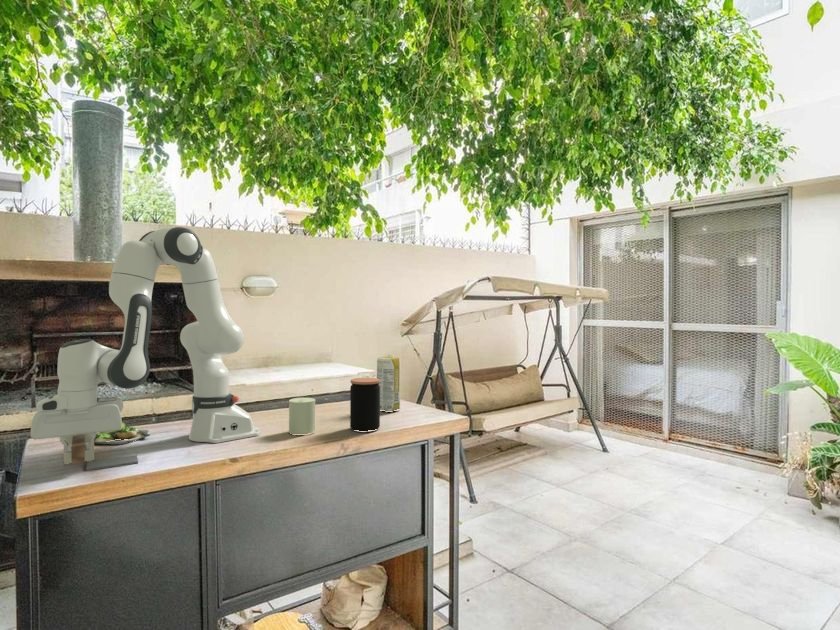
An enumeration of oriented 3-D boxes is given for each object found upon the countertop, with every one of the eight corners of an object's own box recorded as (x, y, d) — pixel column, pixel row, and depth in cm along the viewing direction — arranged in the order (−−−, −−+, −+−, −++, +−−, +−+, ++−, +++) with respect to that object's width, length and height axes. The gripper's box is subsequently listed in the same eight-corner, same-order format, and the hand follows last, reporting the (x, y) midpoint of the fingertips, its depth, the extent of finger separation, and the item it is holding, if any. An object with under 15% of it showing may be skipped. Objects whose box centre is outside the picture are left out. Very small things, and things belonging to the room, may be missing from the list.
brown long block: (85, 450, 139) (84, 434, 139) (84, 461, 129) (84, 444, 129) (73, 452, 137) (72, 436, 137) (71, 463, 127) (71, 446, 127)
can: (287, 436, 168) (287, 401, 167) (289, 429, 177) (289, 396, 176) (315, 435, 170) (315, 400, 169) (315, 428, 179) (315, 395, 178)
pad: (136, 456, 144) (136, 454, 144) (137, 463, 138) (137, 461, 138) (87, 463, 138) (87, 461, 138) (86, 470, 132) (86, 468, 132)
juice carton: (402, 410, 210) (403, 354, 209) (390, 414, 204) (390, 356, 203) (386, 407, 215) (386, 353, 215) (373, 410, 209) (374, 354, 209)
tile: (94, 458, 142) (94, 431, 142) (94, 460, 141) (93, 432, 141) (64, 462, 139) (64, 434, 139) (63, 464, 137) (63, 436, 137)
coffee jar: (371, 424, 186) (371, 376, 185) (385, 430, 177) (385, 380, 176) (345, 428, 180) (345, 378, 180) (358, 434, 171) (358, 382, 171)
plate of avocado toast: (167, 434, 171) (167, 421, 170) (125, 449, 153) (125, 434, 153) (120, 431, 175) (120, 418, 175) (75, 444, 157) (74, 430, 157)
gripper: (122, 394, 141) (123, 442, 141) (32, 401, 130) (32, 453, 130) (123, 397, 136) (123, 447, 136) (29, 405, 125) (29, 460, 125)
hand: (78, 450), depth 133 cm, fingers closed on brown long block, 3 cm apart
